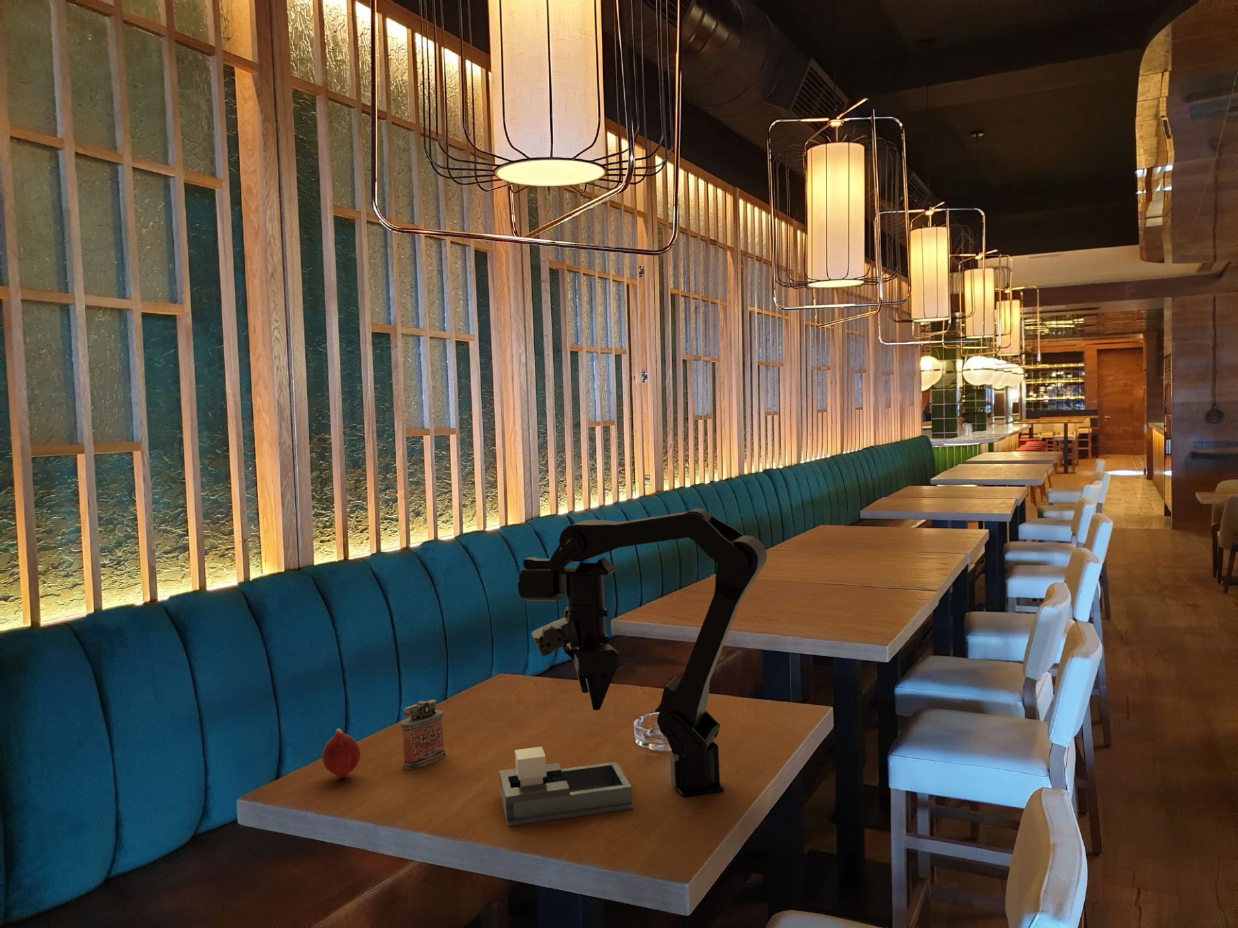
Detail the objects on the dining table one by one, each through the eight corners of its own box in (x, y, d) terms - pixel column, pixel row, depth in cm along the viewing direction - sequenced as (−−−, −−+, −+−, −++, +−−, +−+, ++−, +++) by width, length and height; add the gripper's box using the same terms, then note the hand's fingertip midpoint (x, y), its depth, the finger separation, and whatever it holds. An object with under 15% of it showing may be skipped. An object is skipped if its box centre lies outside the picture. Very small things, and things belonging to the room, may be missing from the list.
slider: (550, 791, 139) (547, 743, 138) (555, 807, 133) (553, 757, 132) (510, 796, 137) (507, 748, 137) (514, 813, 132) (511, 763, 131)
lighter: (437, 751, 159) (433, 694, 159) (449, 755, 157) (446, 697, 157) (398, 766, 153) (395, 707, 153) (411, 770, 151) (407, 710, 151)
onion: (368, 771, 151) (365, 723, 151) (348, 785, 146) (344, 736, 146) (337, 769, 153) (334, 721, 153) (316, 783, 148) (313, 734, 147)
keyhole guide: (616, 779, 143) (615, 754, 143) (633, 808, 133) (631, 780, 132) (500, 794, 140) (499, 769, 139) (507, 826, 129) (506, 798, 129)
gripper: (526, 595, 151) (532, 689, 152) (542, 619, 133) (548, 726, 134) (593, 589, 153) (598, 682, 154) (618, 612, 135) (623, 717, 136)
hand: (590, 700), depth 145 cm, fingers open, 9 cm apart
